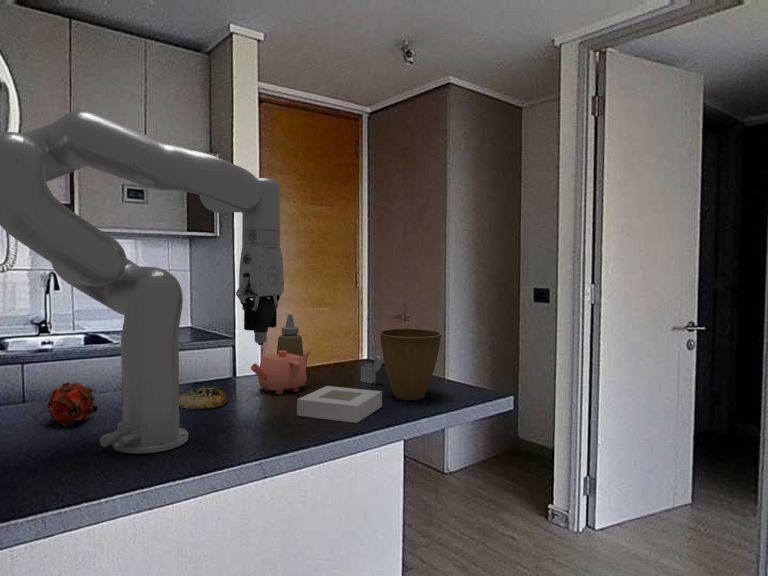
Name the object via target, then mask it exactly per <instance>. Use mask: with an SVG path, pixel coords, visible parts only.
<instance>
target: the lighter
mask: <svg viewBox="0 0 768 576" xmlns="http://www.w3.org/2000/svg"><path fill="white" fill-rule="evenodd" d="M383 363H384V358H383V355H381V354H380V355H376V357H375V359H374V362H373V364H372V363H364V366H363V365H362V366H360V382H361V381H362V382H367V383H375V384H376V373H377V372H379V371H380V370H381V367H382V365H383Z"/></svg>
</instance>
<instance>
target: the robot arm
mask: <svg viewBox="0 0 768 576" xmlns="http://www.w3.org/2000/svg"><path fill="white" fill-rule="evenodd" d="M85 167H89V168H91V169H95V170H98V171H101V172H103V173H106V174H109V175H113V176H116V177H118V178H121V179H123V180H127V181H129V182H131V183H134V184H137V185H140V186H142V187H145V188H149V189H155V190H159V191H177V192H185V193H191V194H195V195H199V199H200V202H201V204H202V205H203V206H204V207H205V208H206V209H208V210H209V211H210V212H213V213H216V214H231V213H233V214H234V213H241V214H242V215H241V217H242V218H241V219H242V220H241V221H242V222H241V224H242V227H241V229H242V231H241V232H242V233H241V238H242V240H241V242H242V243H241V245H242V246H241V252H240V259H239V271H238V288H237V290H236V293H235V296H237V298H238V300H239V302H240V304H241V305H242V307H241V309H242V311H243V329H244V331H252V332H254V331H258V330H259V311H256V310H257V307H258V303H259V298H260V296H262V297H266V298H268V299H270V300H271V301H272V303H273V304H274V308H275V313H274V317H273V319H272V320H271V322H270V324H269V327H268V328H272V329H273V328H274V329H275V328H276V327H277V319H278V318H277V316H278V315H277V313H278V312H277V311H278V310H277V309H278V308H279V301H280V299H281V296H282V294H283V293H284V291H285V277H284V273H285V271H284V261H283V260H284V259H283V253H282V249H281V185H280V183H279V182H278V181H277V180H275V179H274V178H273V179H272V178H267V177H256V176H255V175H254V174H253V173H252V172H251V171H249V170H247V169H245V168H243V167H241V166H239V165H237V164H234V163H233V162H230V161H227V160H225V159H222V158H220V157H218V156H215V155H212V154H208V153H206V152H201V151H198V150H193V149H189V148H186V147H183V146H179V145H175V144H172V143H168V142H164V141H162V140H159V139H157V138H154V137H151V136H149V135H147V134H144V133H142V132H139V131H137V130H135V129H132V128H130V127H128V126H125V125H124V124H121V123H119V122H116V121H114V120H111V119H109V118H107V117H104V116H103V115H100V114H97V113H95V112H91V111H87V110H81V109H80V110H72V111H70V112H68V113H66V114H63V116H61V117H60V118H58V119H57V120H55V121H53V122H51V123H48V124H46V125H44V126H41V127H38V128H36V129H31V130H30V131H26V132H22V133H19V132H15V131H4V132H0V227H1V228H2V229H3V230H4V231H5V233H7V234H8V235H10V236H11V237H13V238H14V239H15V240H16V241H18V242H20V243H21V244H22V245H24V246H25V247H26V248H29V249H30V250H31V251H33V252H35V254H37V255H38V256H40V257H42V258H44V260H46V261H48V262H50V263H51V266H52V268H53V271H54V272H55V274H57V276H58V277H59V278H60V279H61V280H63V281H64V282H66V283H67V284H69V285H70V286H72V287H73V288H75V289H77V290H78V291H80V292H81V293H83V294H85V295H87V296H88V297H89V298H91V299H94V301H96V302H98V303H100V304H102V305H103V306H105V307H106V308H108V309H110V310H112V311H114V312H116V313H117V314H120V315H123V322H122V323H123V324H122V330H121V339H120V360H121V363H120V364H121V422H118V423H117V424H116V425H117V429H115V430H114V431H113V432H109V433H106V434H104V435H102V436H100V437H99V444H100V446H101V447H103V448H106V447H108V446H109V447H110V446H112V448H113V449H114V450H115V451H117V452H119V453H124V454H132V455H133V454H134V455H138V454H139V455H140V454H142V455H143V454H154V453H159V452H165V451H169V450H172V449H176V448H178V447H181V446H182V445H185V443H187V442H188V440H189V432H188V430H186V429H185V428H183V427H180V408H179V397H180V353H179V351H180V350H179V349H180V347H179V346H180V345H179V344H180V343H179V342H180V341H179V337H180V336H179V335H180V324H181V318H182V310H183V304H184V303H183V302H184V299H183V298H184V295H183V289H182V286H181V284H180V282H179V281H178V278H176V277H175V276H174V275H173V274H172V273H171V272H169V271H167V270H165V269H163V268H160V267H155V266H139V265H138V264H137V263H135V262H133V261H132V260H130V259H129V258H127V254H126V252H125V249H124V248H123V246H122V244H120V243H119V242H118V241H117V240H116V239H115V238H114V237H112V236H111V235H109V234H107V233H106V232H104V231H102V230H101V229H99V228H98V227H96V226H94V225H93V224H92V223H90V222H89V221H87V220H86V219H84V218H83V217H81V216H79V215H78V214H77V213H75V211H72V210H71V209H70V208H69V207H68V206H66V205H65V204H63V202H61V201H60V200H58V199H57V197H55V195H54V194H53V193H52V192H51V189H50V188H49V186H48V183H47V182H50V181H52V180H55V179H58V178H61V177H63V176H66V175H68V174H71V173H73V172H75V171H77V170H80V169H83V168H85ZM252 299H253V302H252V301H251V300H252Z"/></svg>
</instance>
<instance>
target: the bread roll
mask: <svg viewBox="0 0 768 576" xmlns="http://www.w3.org/2000/svg"><path fill="white" fill-rule="evenodd" d="M227 398H228V397H227V395H226V392H224V391H223V390H221V389H220V388H219V387H218V386H216V385H214V386H210V385H209V386H208V385H207V386H204V385H201V386H199V387H198V388H192V389H190V390H189V391H188V392H186V393H183V394H181V395H179V407H180V408H179V409H183V408H185V409H184V410H191V409H198V410H204V409H216V408H220V407H222V406H224V405H226V404H227V403H228V399H227Z"/></svg>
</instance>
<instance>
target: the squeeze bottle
mask: <svg viewBox="0 0 768 576" xmlns="http://www.w3.org/2000/svg"><path fill="white" fill-rule="evenodd" d="M293 317H294V316H293V314H287V318H286V323H285V326H284V327H283V326H282V327H281V335H279V336H278V337H277V344H276V345H277V346H276V354H278V351H287V353H289V354H294V355H299V356H302V357H303V355H304V349H303V337H302V336H301V335H299V327H297V326H295V322H294V318H293Z"/></svg>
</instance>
